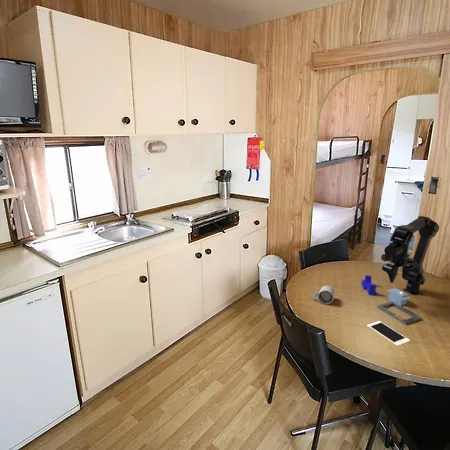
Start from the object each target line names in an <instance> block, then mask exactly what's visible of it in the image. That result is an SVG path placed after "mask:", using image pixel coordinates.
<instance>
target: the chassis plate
mask: <svg viewBox="0 0 450 450" xmlns="http://www.w3.org/2000/svg"><path fill="white" fill-rule="evenodd" d="M391 306H393V307H395V308H396V309H398V310H400V311H402V312H403V313H405V314H407V315H409V316H410V317H411V318H410V317H409V318H407V319H405V318H404V317H401V316H400V315H398V314H396V313H394V312H393V311H391V310H389V309H387V308H388V307H391ZM376 308H377V309H378V310H380V311H382V312H383V313H385V314H386V315H389V316H390V317H391V318H393V319H396V320H397V321H399V322H400V323H402V324H404V325H405V326H407V325H408V324H412V323H415V322H418V321H420V320H422V316H420V315H418V314H416V313H414V312H412V310H411V311H410V310H409V309H407V308H406V307H403V305H401V306H400V305H398V304H397V303H395V302H393V301H391V300H390V301H388V302H385V303H381V304H378V305H377V306H376Z"/></svg>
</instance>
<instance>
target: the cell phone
mask: <svg viewBox="0 0 450 450" xmlns="http://www.w3.org/2000/svg"><path fill="white" fill-rule="evenodd" d="M366 326H367V327H368V328H370V329H371V330H373V331H375V333H378V334H379V335H380V336H381V337H384V338H385V340H388V341H389V342H391V343H392V344H394V345H395V346H402V345H404V344H406V343H409V342H410V341H411V340H410V339H409V338H408V337H406V336H405V335H403V334H402V333H400V332H398V331H396V330H395V329H393V328H391V327H390V326H388V325H387V324H385V323H384V322H382V321H381V320H378V321H375V322H372V323H369V324H367V325H366Z"/></svg>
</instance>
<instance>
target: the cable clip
mask: <svg viewBox="0 0 450 450" xmlns="http://www.w3.org/2000/svg"><path fill="white" fill-rule="evenodd" d="M360 284H361V286H362V287H361V288H362V289H363V290H366V292H367V294H368V296H376V288H377V284H376V283H372V275H368V274H367V275H366V274H365V275H364V279H362V280H361V283H360Z"/></svg>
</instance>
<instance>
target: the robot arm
mask: <svg viewBox="0 0 450 450" xmlns="http://www.w3.org/2000/svg"><path fill="white" fill-rule="evenodd" d="M439 230H440V225H439V224H438V222H436V221H434V220H432V219H431V217H428V216H424V215H419V216H417V218H416V219H414V220H413V221H411V222H409V223H408V224H404V225H403V224H402V225H398V226H396V228H394V230H393V232H392V234H391V237H390V239H389V241H390V242H389V244H388V245H387V246H385V248H384V249H383V251H384V253H383V254H381V257H380V259H381V261H383V262H389V263H385V264H383V265H382V266H381V270H382V271H384V272H385V273H386V274H387V276H388V279H389V283H390V284H394V282H395V279H396V277H398V271H399V269H400V268H402V271H401V277H402V279H403V280H404V281H405V280H406V286H405V288H403V292H404V291H405V292H407V294H410V295H413V296H415V295H419V294H422V293H423V291H421V290H420V288H421V286H422V285H425V282H426V277H425V276H424V272H425V271H424V267H423V265H424V264H423V263H424V260H425V257H426V255H427V251H428V248H429V245H430V242H431V240H433V238H434V237H436V236H437V233H438V232H439ZM417 231H418V234H419V236H420V237H419V239H418V242H417V246H416V248H415V252H414V255H413V258H411V257H410V254H408V253H409V248H410V247H409V246H410V243H411V242H412V239H413V238H414V235H415V233H416V232H417Z"/></svg>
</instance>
